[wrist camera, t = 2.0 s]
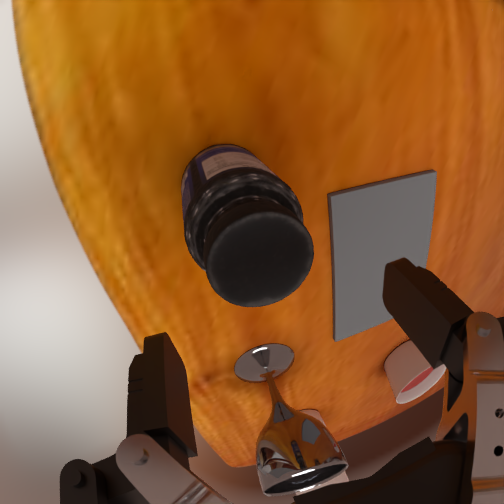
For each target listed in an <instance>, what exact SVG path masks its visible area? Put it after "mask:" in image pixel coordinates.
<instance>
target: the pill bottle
mask: <svg viewBox="0 0 504 504" xmlns="http://www.w3.org/2000/svg"><path fill="white" fill-rule="evenodd" d="M181 193H182V206H183V220H184V236H185V241H186V244H187V247H188V250H189V253H190V254H191V256H192V258H193V259H194V260H195V262H196V263H197V264H198V265H199V266H200V267H201V268H202V269H203V270H205V271H206V274H207V277H208V280H209V282H210V284H211V286H212V288H213V289H214V291H215V292H216V293H217V294H218V295H219V296H221V297H222V298H223V299H224V300H226V301H228V302H229V303H232V304H235V305H239V306H243V307H261V306H265V305H270V304H273V303H275V302H278V301H280V300H282V299H284V298H285V297H287V296H288V295H290V294H291V293H292V292H294V291H295V290H296V289H297V288H298V287H299V286H300V285H301V283H302V282H303V281H304V280H305V278H306V276H307V275H308V273H309V271H310V269H311V266H312V262H313V258H314V251H313V247H314V246H313V242H312V238H311V236H310V234H309V232H308V230H307V228H306V227H305V226H304V225H303V213H302V209H301V205H300V204H299V201H298V199H297V197H296V195H295V194H294V193H293V191H292V190H291V188H290V187H289V186H288V185H287V184H286V183H285V182H283V181H282V180H281V179H280V178H279V177H278V176H277V175H275V174H274V173H273V172H272V171H271V170H270V169H269V168H268V167H267V166H266V165H265V164H263V163H262V162H261V161H260V160H259V159H258V158H257V157H256V156H254V155H253V154H252V153H251V152H249V151H248V150H246V149H245V148H242V147H239V146H236V145H232V144H222V145H214V146H211V147H209V148H207V149H205V150H203V151H201V152H200V153H199V154H198V155H197V156H196V157H194V158H193V159H192V161H191V162H190V163H189V164H188V166H187V167H186V169H185V172H184V174H183V178H182V185H181Z"/></svg>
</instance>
